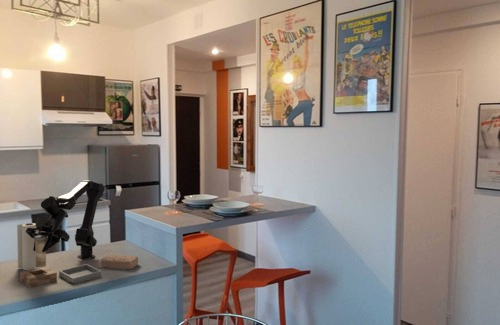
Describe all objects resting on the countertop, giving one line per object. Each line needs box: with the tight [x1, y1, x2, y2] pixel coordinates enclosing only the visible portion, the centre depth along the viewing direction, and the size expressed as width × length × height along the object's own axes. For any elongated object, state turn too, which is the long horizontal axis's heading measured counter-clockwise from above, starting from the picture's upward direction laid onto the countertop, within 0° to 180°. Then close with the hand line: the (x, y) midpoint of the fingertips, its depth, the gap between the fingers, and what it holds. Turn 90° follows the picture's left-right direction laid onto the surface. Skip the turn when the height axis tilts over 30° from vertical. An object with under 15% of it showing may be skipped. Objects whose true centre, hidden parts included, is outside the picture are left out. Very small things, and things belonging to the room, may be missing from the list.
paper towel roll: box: [16, 222, 38, 271], centre depth 190 cm, size 7×6×21 cm
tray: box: [58, 263, 102, 285], centre depth 184 cm, size 13×13×2 cm
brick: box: [99, 254, 139, 270], centre depth 199 cm, size 17×8×5 cm, turn 81°
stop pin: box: [34, 235, 48, 268], centre depth 176 cm, size 5×5×13 cm
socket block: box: [19, 265, 58, 288], centre depth 177 cm, size 11×11×4 cm
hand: (38, 251), depth 175 cm, fingers closed on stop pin, 4 cm apart
